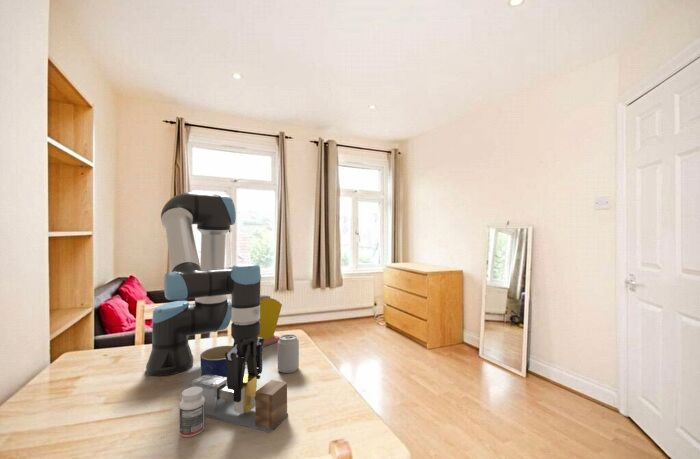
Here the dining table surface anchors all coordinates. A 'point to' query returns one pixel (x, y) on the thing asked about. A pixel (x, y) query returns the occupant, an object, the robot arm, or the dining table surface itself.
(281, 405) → the socket
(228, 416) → the board
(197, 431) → the pill bottle
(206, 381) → the sleeve
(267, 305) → the yellow fan-shaped sign
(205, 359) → the planter
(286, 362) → the can
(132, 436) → the dining table surface
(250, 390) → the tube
